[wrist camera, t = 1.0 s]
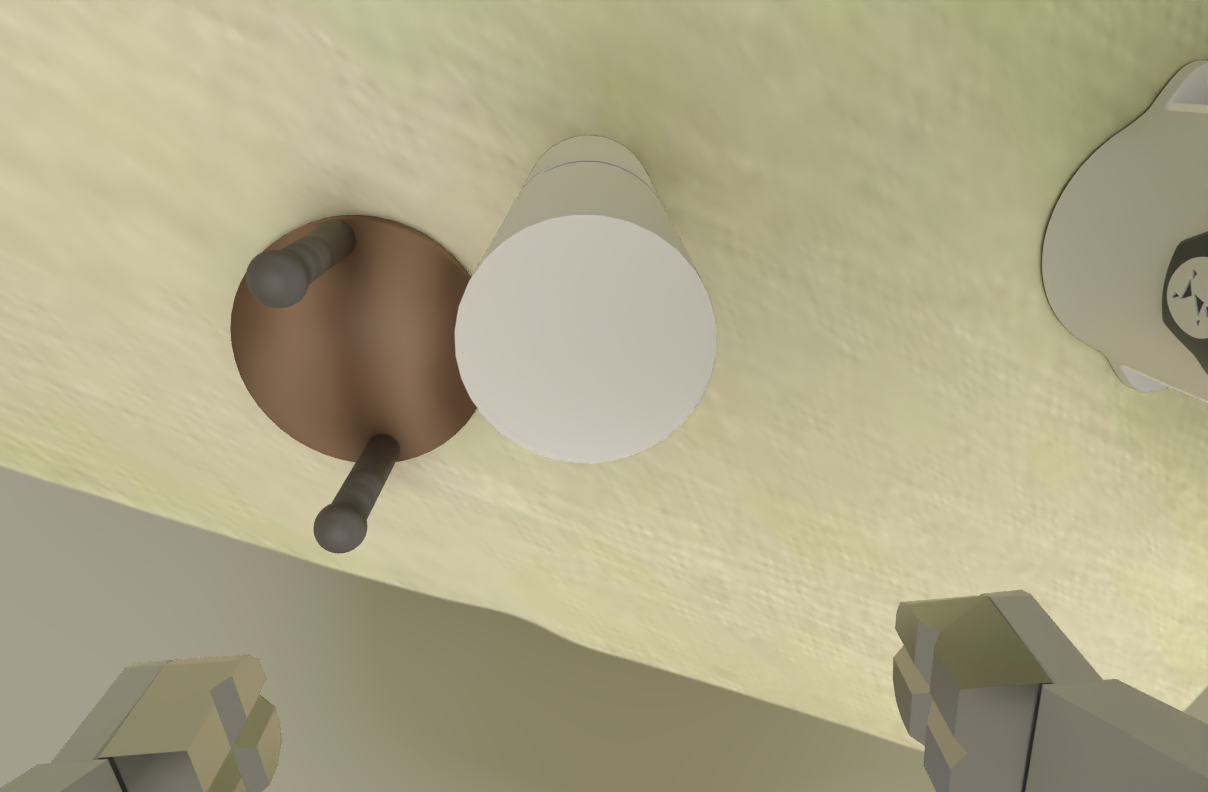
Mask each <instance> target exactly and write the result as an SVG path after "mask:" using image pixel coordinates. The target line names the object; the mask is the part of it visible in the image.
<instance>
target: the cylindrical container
mask: <svg viewBox="0 0 1208 792" xmlns="http://www.w3.org/2000/svg"><path fill="white" fill-rule="evenodd" d="M716 344H717V333H716V324H715V315H714V312H713V309H712V306H711V302H710V299H709V296H708V293H707V291H706V289H705V287H704V285H703V283H702V281H701V279H700V277H699V275H698V273H697V271H696V269H695V267H694V265H693V263H692V261H691V259H690V257H689V255H688V253H687V251H686V249H685V247H684V245H683V243H682V241H681V239H680V238H679V236H678V234H677V232H676V230H675V228H674V226H673V224H672V222H671V220H670V218H669V216H668V214H667V212H666V210H665V208H664V206H663V204H662V202H661V200H660V198H659V196H658V194H657V192H656V190H655V188H654V187H653V185H652V183H651V181H650V179H649V177H648V175H647V173H646V171H645V169H644V168H643V166H642V164H641V162H640V161H639V160H638V159H637V158H636V157H635V155H634V154H633V153H632V152H631V151H629V150H628V149H627V148H625V147H624V146H623V145H621V144H619V143H617V142H615V141H613V140H611V139H608V138H604V137H600V136H588V135H584V136H578V137H572V138H569V139H567V140H564V141H562V142H560V143H558V144H557V145H555V146H553V147H552V148H550V149H549V150H548V151H547V152H546V153H545V154H544V155H543V156H542V157H541V158H540V160H539V161H538V163H537V164H536V165H535V167H534V168H533V170H532V172H531V174H530V176H529V177H528V179H527V181H526V183H525V184H524V186H523V188H522V190H521V192H520V193H519V195H518V197H517V199H516V200H515V202H514V204H513V206H512V207H511V209H510V211H509V213H508V214H507V216H506V218H505V220H504V221H503V223H502V225H501V227H500V228H499V230H498V232H497V234H496V235H495V237H494V239H493V240H492V242H491V244H490V246H489V247H488V249H487V251H486V253H485V254H484V256H483V258H482V260H481V261H480V263H479V265H478V267H477V268H476V270H475V272H474V274H473V275H472V277H471V279H470V280H469V282H468V285H467V287H466V290H465V292H464V295H463V297H462V300H461V302H460V305H459V308H458V314H457V320H456V326H455V354H456V360H457V364H458V368H459V372H460V376H461V379H462V381H463V383H464V385H465V388H466V390H467V392H468V394H469V396H470V398H471V400H472V401H473V403H474V404H475V405H476V407H477V408H478V410H479V411H480V413H481V414H482V415H483V417H484V418H485V419H486V420H487V421H488V422H489V423H490V424H491V425H492V426H493V427H494V428H496V429H497V430H498V431H499V432H500V433H501V434H502V435H503V436H505V437H506V438H508V439H509V440H511V441H513V442H514V443H516V444H517V445H519V446H520V447H522V448H524V449H526V450H528V451H531V452H533V453H536V454H538V455H541V456H543V457H546V458H550V459H555V460H560V461H565V462H570V463H601V462H607V461H614V460H619V459H622V458H625V457H628V456H631V455H635V454H638V453H640V452H642V451H644V450H646V449H648V448H650V447H651V446H653V445H655V444H657V443H659V442H661V441H662V440H663V439H664V438H666V437H667V436H668V435H670V434H671V433H672V432H673V431H675V430H676V429H677V428H678V427H680V425H681V424H682V423H683V422H684V421H685V419H686V418H687V417H688V416H689V415H690V414H691V412H692V411H693V410H694V409H695V408H696V406H697V404H698V402H699V401H700V399H701V397H702V395H703V393H704V391H705V390H706V388H707V386H708V383H709V380H710V376H711V373H712V370H713V366H714V363H715V355H716Z"/></svg>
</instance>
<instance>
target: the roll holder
mask: <svg viewBox="0 0 1208 792" xmlns="http://www.w3.org/2000/svg"><path fill="white" fill-rule="evenodd" d="M470 279H471V277H470V275H469V274H468V272H467V271H466V270H465V269H464V267H463V266H462V265H461V264H460V263H459V262H458V261H457V260H456V258H455V257H454V256H452V255H451V254H450V253H449V252H448V251H447V250H446V249H444V248H443V247H442V246H441V245H440V244H438V243H437V242H435V241H434V240H432V239H431V238H429V237H428V236H426V235H424V234H423V233H421V232H419V231H417V230H415V229H413V228H411V227H408V226H406V225H403V224H400V223H398V222H395V221H391V220H387V219H383V218H379V217H372V216H363V215H344V216H336V217H330V218H324V219H321V220H318V221H314V222H311V223H308V224H306V225H304V226H302V227H300V228H298V229H296V230H293V231H292V232H290V233H288V234H286V235H284V236H283V237H281V238H280V239H278V240H277V241H275V242H274V243H272V244H271V245H270V246H269V247H268V248H267V249H265V250H264V251H263V252H262V253H260V254H259V255H257V256H256V257H255V258H254V259H253V260H252V261H251V263H250V264H249V266H248V269H247V272H246V274H245V276H244V277H243V279H242V281H241V283H240V285H239V288H238V291H237V293H236V296H235V299H234V304H233V309H232V314H231V341H232V348H233V353H234V357H235V361H236V364H237V367H238V370H239V373H240V375H241V378H242V380H243V382H244V384H245V386H246V388H247V389H248V391H249V393H250V394H251V396H252V397H253V399H254V400H255V402H256V403H257V405H258V406H259V407H260V408H261V409H262V411H263V412H264V413H265V414H266V415H267V416H268V418H270V419H271V420H272V421H273V422H274V423H275V424H276V425H277V426H278V427H279V428H280V429H282V430H283V431H284V432H286V433H287V434H288V435H290V436H291V437H292V438H294V439H295V440H297V441H299V442H300V443H302V444H304V445H306V446H307V447H309V448H311V449H314V450H316V451H318V452H320V453H323V454H325V455H328V456H332V457H335V458H338V459H342V460H347V461H352V462H356V463H355V465H354V467H353V468H352V470H351V472H350V473H349V475H348V477H347V478H346V480H345V482H344V483H343V485H342V487H341V488H340V490H339V492H338V494H337V495H336V497H335V499H334V500H333V502H332V504H330V505H328V506H326V507H325V508H323V509H322V510H321V511H320V512H319V514H318V515H317V517H316V519H315V522H314V535H315V538H316V540H317V542H318V543H319V545H320V546H321V547H322V548H324V549H325V550H327V551H329V552H332V553H346V552H349V551H351V550H353V549H355V548H356V547H358V546H359V545H360V544H361V542H362V541H363V539H364V538H365V535H366V532H367V518H368V516H369V514H370V512H371V510H372V508H373V506H374V504H375V502H376V500H377V498H378V496H379V494H380V492H381V490H382V488H383V486H384V484H385V482H386V480H387V478H388V476H389V474H390V472H391V470H392V468H393V466H394V464H395V462H398V461H403V460H407V459H411V458H414V457H418V456H420V455H422V454H425V453H427V452H430V451H432V450H433V449H435V448H437V447H439V446H440V445H442V444H444V443H445V442H446V441H448V440H449V439H450V438H452V437H453V436H454V435H455V434H456V433H457V432H458V431H459V430H460V429H461V428H462V427H463V426H464V425H465V424H466V423H467V422H468V420H469V419H470V418H471V416H472V415H473V413H474V412H475V410H476V408H477V407H476V405H475V404H474V403H473V401H472V400H471V398H470V396H469V394H468V392H467V390H466V388H465V385H464V383H463V381H462V379H461V376H460V372H459V368H458V364H457V360H456V354H455V326H456V320H457V314H458V308H459V305H460V302H461V300H462V297H463V295H464V292H465V290H466V287H467V285H468V282H469V280H470Z"/></svg>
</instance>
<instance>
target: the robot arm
mask: <svg viewBox="0 0 1208 792" xmlns="http://www.w3.org/2000/svg"><path fill="white" fill-rule="evenodd" d="M1042 274H1043V282H1044V287H1045V291H1046V294H1047V298H1048V300H1049V303H1050V305H1051V307H1052V309H1053V311H1054V313H1055V315H1056V316H1057V318H1058V319H1059V320H1060V322H1061V323H1062V324H1063V325H1064V327H1065V328H1066V329H1067V330H1068V331H1069V332H1070V333H1072V334H1073V335H1074V336H1075V337H1077V338H1078V339H1079V340H1081V341H1082V342H1084V343H1086V344H1088V345H1089V346H1091V347H1093V348H1094V349H1096V350H1098V351H1099V352H1101V353H1102V354H1103V355H1104V356H1106V357H1107V359H1108V360H1109V362H1110V364H1111V366H1112V368H1113V369H1114V371H1115V373H1116V374H1117V376H1118V377H1119V379H1120V380H1121V381H1122V382H1123V383H1124V384H1125V385H1126V386H1128V387H1129V388H1132V389H1134V390H1137V391H1139V392H1144V393H1148V392H1154V391H1158V390H1162V389H1166V388H1172V389H1174V390H1177V391H1179V392H1181V393H1184V394H1186V395H1189V396H1191V397H1193V398H1196V399H1198V400H1200V401H1203V402H1205V403H1208V60H1198V61H1194V62H1191V63H1189V64H1187V65H1186V66H1184V67H1183V68H1182V69H1181V70H1180V71H1179V72H1178V73H1177V74H1176V75H1175V76H1174V77H1173V78H1172V79H1171V80H1170V82H1169V83H1168V84H1167V85H1166V87H1165V88H1164V89H1163V91H1162V92H1161V93H1160V95H1159V96H1158V97H1157V99H1156V100H1155V101H1154V103H1153V104H1152V106H1151V107H1150V108H1149V110H1148V111H1146V112H1145V113H1144V114H1143V115H1142V116H1141V117H1140V118H1138V119H1137V120H1136V121H1135V122H1133V123H1132V124H1130V125H1129V126H1128V127H1126V128H1125V129H1123V130H1122V131H1120V132H1119V133H1118V134H1116V135H1115V136H1113V137H1112V138H1111V139H1110V140H1108V141H1107V142H1106V143H1104V144H1103V145H1102V146H1101V147H1100V148H1099V149H1098V150H1097V151H1096V152H1095V153H1094V154H1093V155H1092V156H1091V157H1090V158H1089V159H1088V160H1087V161H1086V162H1085V163H1084V164H1083V165H1082V166H1081V167H1080V169H1079V170H1078V171H1077V173H1076V174H1075V175H1074V176H1073V178H1072V179H1071V181H1070V182H1069V184H1068V185H1067V187H1066V188H1065V190H1064V192H1063V193H1062V195H1061V197H1060V199H1059V201H1058V203H1057V205H1056V207H1055V209H1054V211H1053V214H1052V216H1051V219H1050V222H1049V225H1048V228H1047V231H1046V236H1045V240H1044V246H1043V255H1042ZM895 629H896V631H897V633H898V635H899V637H900V639H901V640H902V642H903V644H904V646H903V647H902V648H901V649H900V650H899V651H898V653H897V654H896V655H895V656H894V657H893V683H894V690H895V697H896V702H897V705H898V709H899V712H900V715H901V718H902V720H903V723H904V725H905V727H906V729H907V731H908V734H909V735H910V736H911V737H913V738H914V739H916V740H917V741H918V742H920V743H921V744H923V745H924V746H925V752H924V767H925V769H926V771H927V773H928V775H929V778H930V780H931V782H932V784H933V786H934V788H935V790H936V792H1208V724H1206V723H1204V722H1202V721H1200V720H1198V719H1196V718H1194V717H1192V716H1190V715H1188V714H1186V713H1184V712H1182V711H1180V710H1178V709H1176V708H1174V707H1172V706H1170V705H1168V704H1166V703H1164V702H1162V701H1159V700H1157V699H1155V698H1153V697H1151V696H1149V695H1147V694H1145V693H1143V692H1141V691H1139V690H1137V689H1135V688H1133V687H1131V686H1129V685H1127V684H1125V683H1123V682H1121V681H1119V680H1117V679H1111V680H1103V679H1102V678H1101V677H1100V675H1099V674H1098V673H1097V672H1096V671H1095V669H1094V668H1093V667H1092V666H1091V665H1090V664H1089V662H1088V661H1087V660H1086V659H1085V658H1084V656H1083V655H1082V654H1081V653H1080V652H1079V651H1078V649H1077V648H1076V647H1075V646H1074V645H1073V644H1072V642H1071V641H1070V640H1069V639H1068V638H1067V636H1066V635H1065V634H1064V633H1063V632H1062V631H1061V629H1060V628H1059V627H1058V626H1057V625H1056V623H1055V622H1054V621H1053V620H1052V619H1051V618H1050V616H1049V615H1048V614H1047V613H1046V612H1045V610H1044V609H1043V608H1042V607H1041V606H1040V605H1039V603H1038V602H1037V601H1036V600H1035V599H1034V598H1033V596H1032V595H1031V594H1029V593H1027V592H1025V591H1023V590H1014V591H1004V592H995V593H985V594H981V595H980V596H966V597H954V598H943V599H931V600H920V601H908V602H900V604H899V607H898V610H897V614H896V626H895ZM266 681H267V678H266V675H265V673H264V670H263V668H262V665H261V662H260V659H258V658H256V657H254V656H252V655H238V656H221V657H204V658H188V659H175V660H162V661H147V662H137V663H135V664H132V665H130V666H128V667H126V668H125V669H124V670H123V671H122V673H121V674H120V675H119V676H118V678H117V679H116V680H115V682H114V683H113V684H112V685H111V687H110V688H109V689H108V690H107V692H106V693H105V694H104V696H103V697H102V698H101V699H100V701H99V702H98V703H97V704H96V706H95V707H94V708H93V710H92V711H91V712H90V714H89V715H88V716H87V717H86V719H85V720H84V721H83V722H82V724H81V725H80V726H79V727H78V729H77V730H76V731H75V733H74V734H73V735H72V736H71V738H70V739H69V740H68V741H67V743H66V744H65V745H64V746H63V748H62V749H61V750H60V752H59V753H58V754H57V755H56V757H55V758H54V759H53V760H52V762H51V763H48V764H37V765H36V766H34V767H33V768H31V769H29V770H28V771H26V772H25V773H23V774H21V775H20V776H19V777H17V778H15V779H14V780H12V781H11V782H9V783H7V784H6V785H4V786H3V787H1V788H0V792H262V791H263V790H264V789H265V788H266V787H268V786H269V785H270V783H271V781H272V778H273V776H274V773H275V771H276V769H277V766H278V762H279V756H280V750H281V744H282V736H281V735H282V734H281V722H280V719H279V716H278V712H277V709H276V707H275V706H274V705H273V704H271V703H270V702H269V701H268V700H266V699H265V698H264V697H262V696H261V695H260V692H261V690H262V688H263V686H264V684H265V682H266Z"/></svg>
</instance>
